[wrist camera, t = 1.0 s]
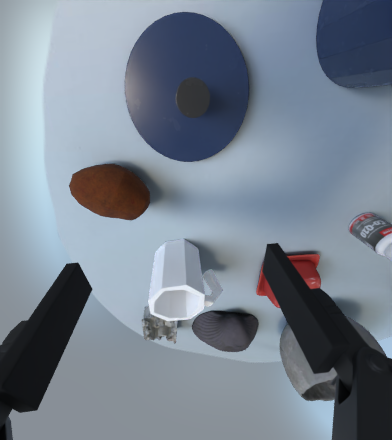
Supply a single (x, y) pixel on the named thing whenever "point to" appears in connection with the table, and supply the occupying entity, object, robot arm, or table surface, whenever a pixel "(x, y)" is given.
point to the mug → (180, 282)
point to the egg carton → (158, 327)
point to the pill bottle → (373, 233)
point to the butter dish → (303, 265)
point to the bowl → (302, 373)
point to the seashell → (226, 330)
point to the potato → (110, 191)
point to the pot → (356, 42)
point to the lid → (186, 86)
